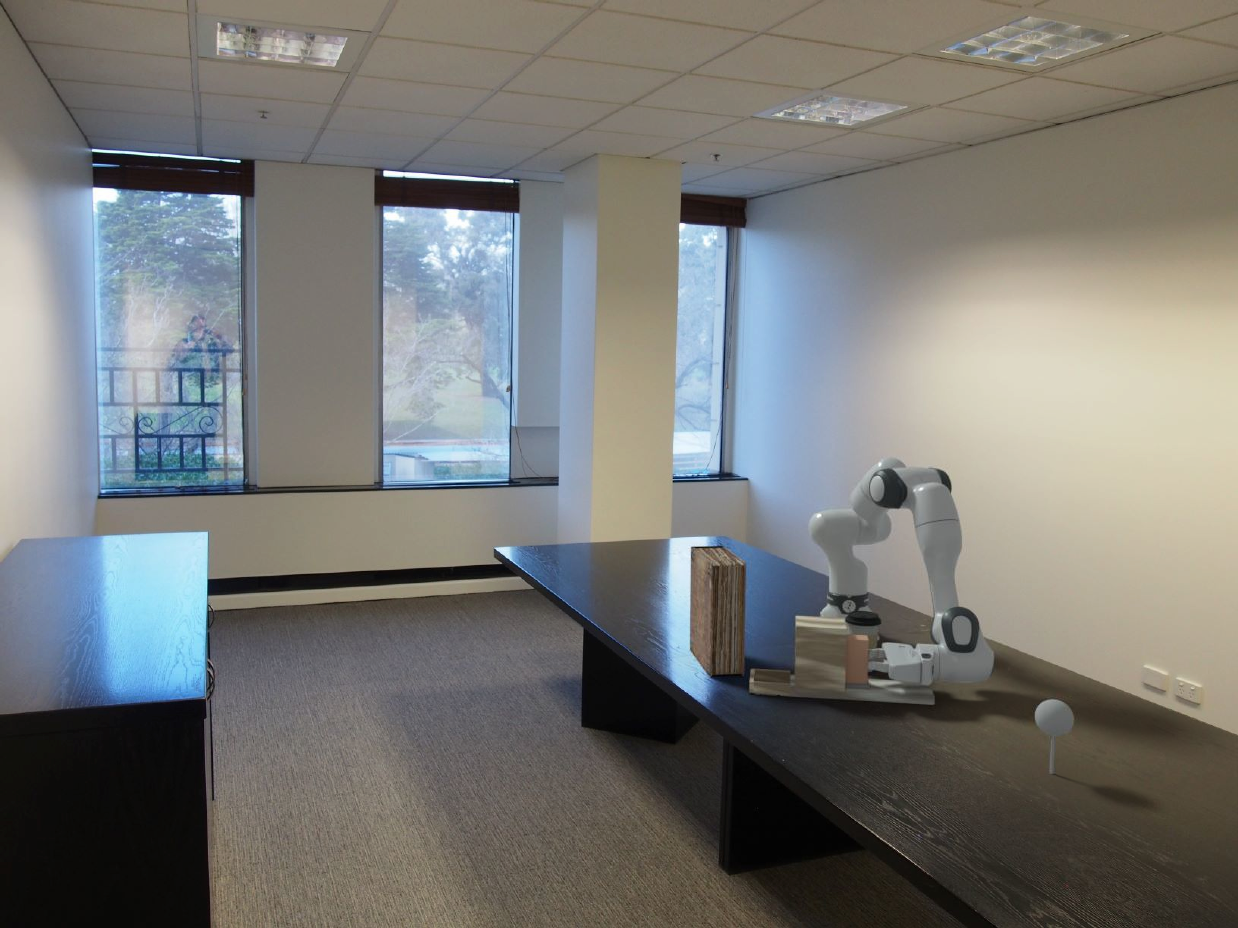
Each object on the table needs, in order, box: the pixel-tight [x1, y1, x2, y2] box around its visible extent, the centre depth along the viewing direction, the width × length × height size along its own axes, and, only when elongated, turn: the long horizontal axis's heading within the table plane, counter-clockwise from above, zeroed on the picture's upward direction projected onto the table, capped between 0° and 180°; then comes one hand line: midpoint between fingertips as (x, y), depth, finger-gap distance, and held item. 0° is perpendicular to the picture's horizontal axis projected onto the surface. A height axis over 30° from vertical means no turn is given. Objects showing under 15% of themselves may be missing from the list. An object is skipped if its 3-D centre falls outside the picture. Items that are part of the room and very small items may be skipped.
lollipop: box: [1034, 699, 1075, 775], centre depth 196 cm, size 7×7×15 cm
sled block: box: [845, 634, 870, 689], centre depth 244 cm, size 6×12×12 cm, turn 81°
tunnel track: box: [748, 615, 936, 705], centre depth 244 cm, size 11×44×18 cm, turn 81°
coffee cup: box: [845, 611, 882, 673], centre depth 263 cm, size 9×9×15 cm
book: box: [689, 545, 747, 678], centre depth 267 cm, size 25×9×30 cm, turn 8°
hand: (866, 659), depth 243 cm, fingers open, 8 cm apart
